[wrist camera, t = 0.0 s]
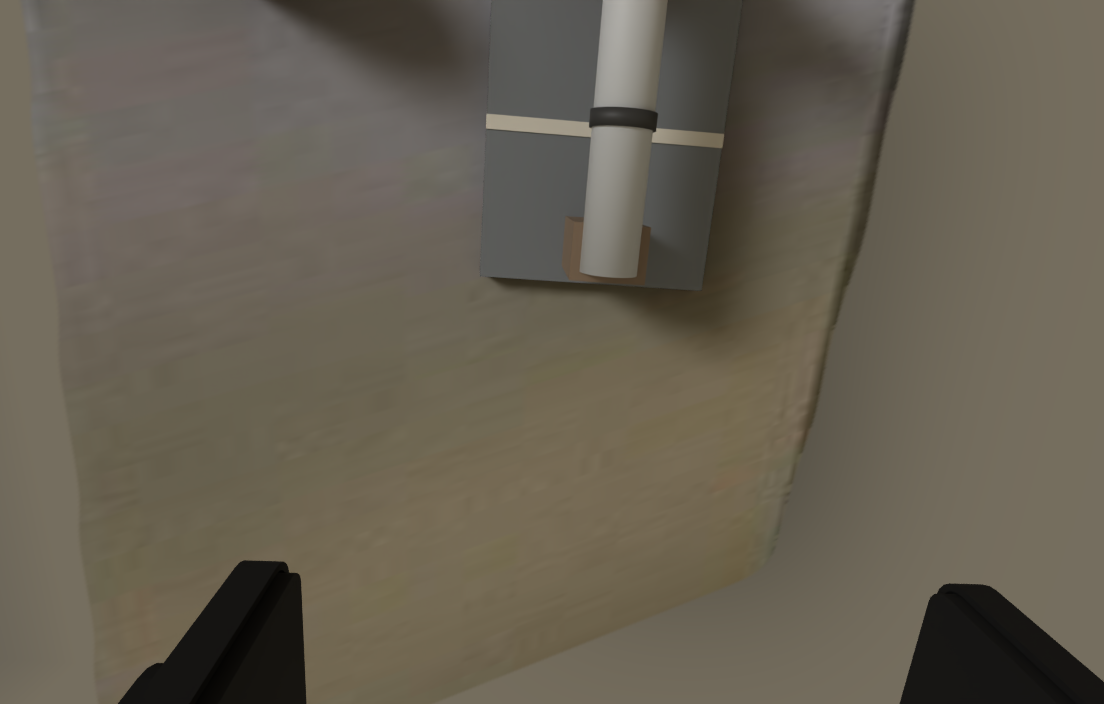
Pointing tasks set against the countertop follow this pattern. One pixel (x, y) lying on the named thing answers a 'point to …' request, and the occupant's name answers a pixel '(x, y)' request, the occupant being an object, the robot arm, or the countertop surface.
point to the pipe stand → (605, 138)
